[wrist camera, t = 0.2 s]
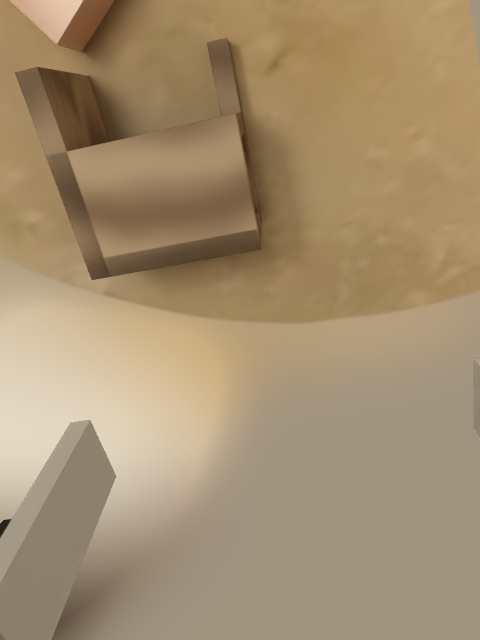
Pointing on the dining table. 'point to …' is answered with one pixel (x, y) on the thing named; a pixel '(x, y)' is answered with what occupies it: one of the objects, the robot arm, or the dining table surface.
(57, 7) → the pink rectangular block
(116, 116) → the dining table surface
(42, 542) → the robot arm
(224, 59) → the dock
